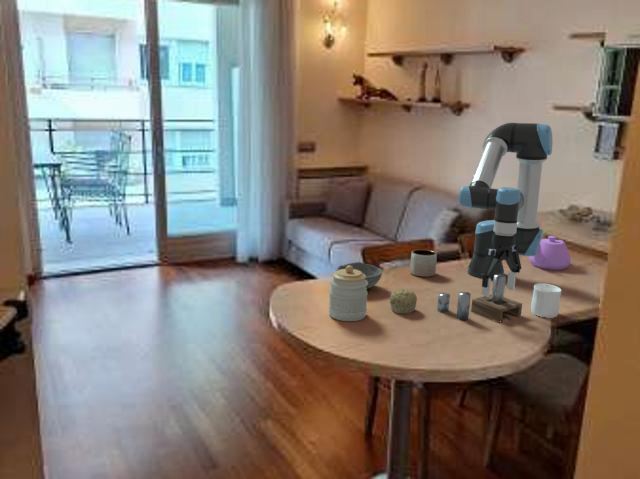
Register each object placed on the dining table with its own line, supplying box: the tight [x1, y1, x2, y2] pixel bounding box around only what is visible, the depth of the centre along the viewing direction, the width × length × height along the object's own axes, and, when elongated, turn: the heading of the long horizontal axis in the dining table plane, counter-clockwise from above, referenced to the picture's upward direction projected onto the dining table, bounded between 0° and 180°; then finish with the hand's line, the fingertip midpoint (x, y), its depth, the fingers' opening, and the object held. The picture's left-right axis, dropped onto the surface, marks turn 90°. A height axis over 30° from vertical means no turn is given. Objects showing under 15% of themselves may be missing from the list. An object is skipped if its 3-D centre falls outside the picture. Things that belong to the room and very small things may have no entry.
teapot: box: [528, 235, 571, 271], centre depth 270 cm, size 25×18×14 cm
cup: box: [530, 282, 562, 319], centre depth 208 cm, size 10×10×10 cm
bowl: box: [336, 261, 383, 290], centre depth 231 cm, size 18×18×8 cm
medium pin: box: [456, 291, 472, 322], centre depth 201 cm, size 4×4×9 cm
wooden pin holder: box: [470, 293, 523, 323], centre depth 208 cm, size 12×12×4 cm
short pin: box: [436, 292, 451, 313], centre depth 209 cm, size 4×4×6 cm
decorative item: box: [389, 288, 418, 314], centre depth 208 cm, size 10×10×10 cm
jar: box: [328, 265, 368, 322], centre depth 200 cm, size 13×13×18 cm
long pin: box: [491, 274, 507, 305], centre depth 206 cm, size 4×4×14 cm
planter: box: [409, 248, 438, 278], centre depth 252 cm, size 11×11×10 cm
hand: (498, 292), depth 206 cm, fingers open, 13 cm apart
